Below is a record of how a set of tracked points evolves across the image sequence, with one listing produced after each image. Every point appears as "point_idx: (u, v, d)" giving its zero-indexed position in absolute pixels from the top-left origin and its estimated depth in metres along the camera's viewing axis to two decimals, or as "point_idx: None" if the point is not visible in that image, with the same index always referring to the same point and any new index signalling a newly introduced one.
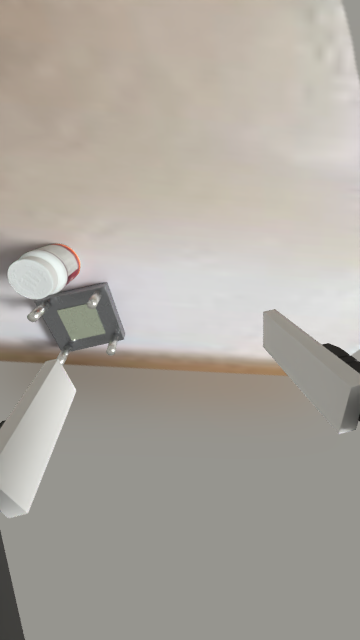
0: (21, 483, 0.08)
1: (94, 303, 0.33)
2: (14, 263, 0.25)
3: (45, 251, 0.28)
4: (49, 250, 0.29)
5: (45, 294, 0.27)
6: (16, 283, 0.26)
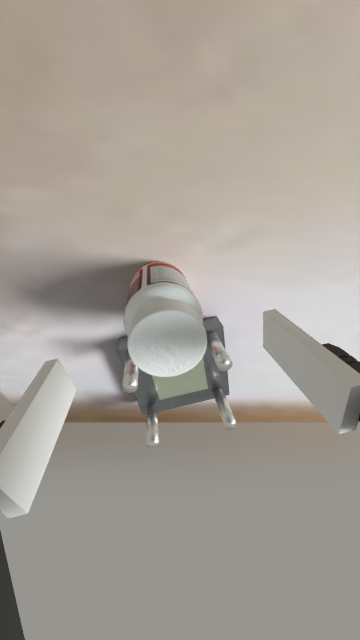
0: (21, 483, 0.08)
1: (230, 362, 0.20)
2: (147, 318, 0.12)
3: (177, 284, 0.16)
4: (176, 280, 0.17)
5: (187, 368, 0.15)
6: (142, 354, 0.14)
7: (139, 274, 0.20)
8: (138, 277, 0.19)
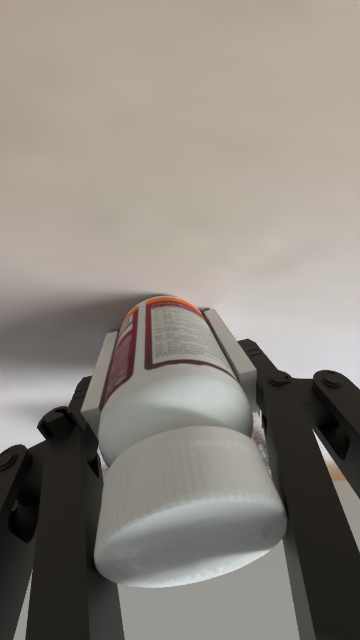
0: None
1: None
2: (144, 520, 0.04)
3: (206, 368, 0.08)
4: (202, 352, 0.09)
5: (234, 568, 0.07)
6: (131, 569, 0.06)
7: (132, 322, 0.12)
8: (130, 330, 0.11)
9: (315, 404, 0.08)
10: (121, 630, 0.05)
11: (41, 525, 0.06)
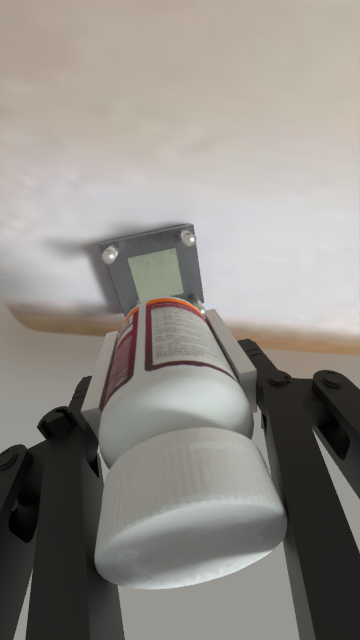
0: None
1: (194, 237, 0.23)
2: (145, 522, 0.04)
3: (206, 369, 0.08)
4: (202, 353, 0.09)
5: (234, 570, 0.07)
6: (132, 571, 0.06)
7: (133, 323, 0.12)
8: (130, 331, 0.11)
9: (315, 404, 0.08)
10: (121, 630, 0.05)
11: (41, 525, 0.06)
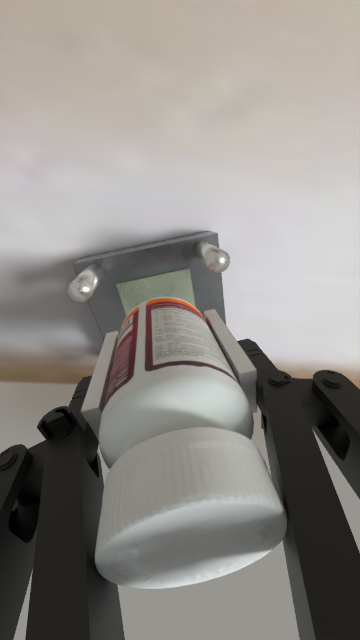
0: None
1: (227, 257, 0.14)
2: (145, 522, 0.04)
3: (206, 370, 0.08)
4: (202, 353, 0.09)
5: (234, 569, 0.07)
6: (132, 571, 0.06)
7: (133, 323, 0.12)
8: (131, 331, 0.11)
9: (315, 404, 0.08)
10: (121, 630, 0.05)
11: (41, 525, 0.06)
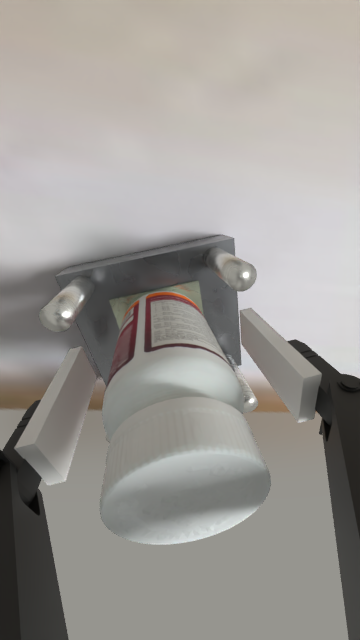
0: (59, 454, 0.09)
1: (253, 272, 0.10)
2: (143, 469, 0.05)
3: (200, 351, 0.08)
4: (196, 338, 0.09)
5: (224, 528, 0.07)
6: (132, 522, 0.06)
7: (133, 314, 0.13)
8: (131, 321, 0.12)
9: None
10: None
11: None
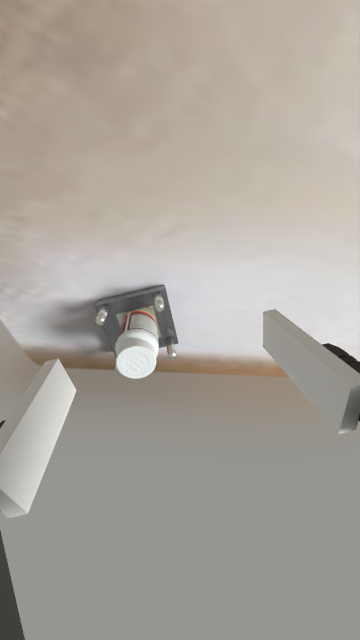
0: (21, 483, 0.08)
1: (163, 305, 0.32)
2: (125, 350, 0.27)
3: (142, 329, 0.30)
4: (143, 326, 0.31)
5: (147, 373, 0.29)
6: (123, 366, 0.28)
7: (125, 319, 0.34)
8: (124, 322, 0.33)
9: None
10: None
11: None
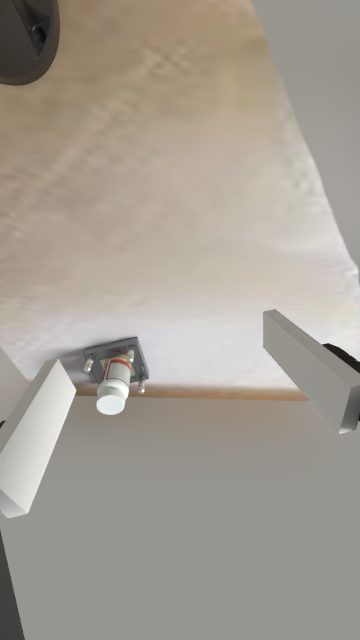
0: (21, 483, 0.08)
1: (132, 360, 0.44)
2: (102, 397, 0.39)
3: (116, 379, 0.42)
4: (117, 376, 0.43)
5: (118, 411, 0.41)
6: (101, 407, 0.40)
7: (105, 367, 0.46)
8: (105, 369, 0.46)
9: None
10: None
11: None
